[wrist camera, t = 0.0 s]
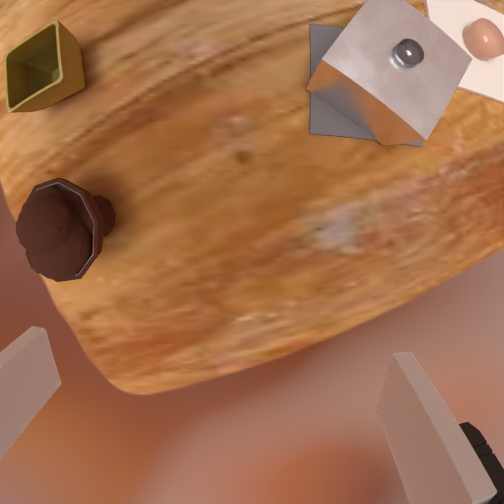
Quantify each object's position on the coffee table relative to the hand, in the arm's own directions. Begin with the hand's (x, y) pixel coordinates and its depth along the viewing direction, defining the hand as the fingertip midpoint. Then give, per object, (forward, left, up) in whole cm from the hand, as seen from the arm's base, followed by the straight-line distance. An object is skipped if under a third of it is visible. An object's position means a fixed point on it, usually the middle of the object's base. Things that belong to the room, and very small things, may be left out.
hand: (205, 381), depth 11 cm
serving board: (-28, +31, -28) cm, 50 cm away
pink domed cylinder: (-28, +31, -27) cm, 50 cm away
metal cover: (-18, +14, -28) cm, 36 cm away
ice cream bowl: (-1, -19, -28) cm, 34 cm away
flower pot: (-20, -24, -28) cm, 42 cm away
